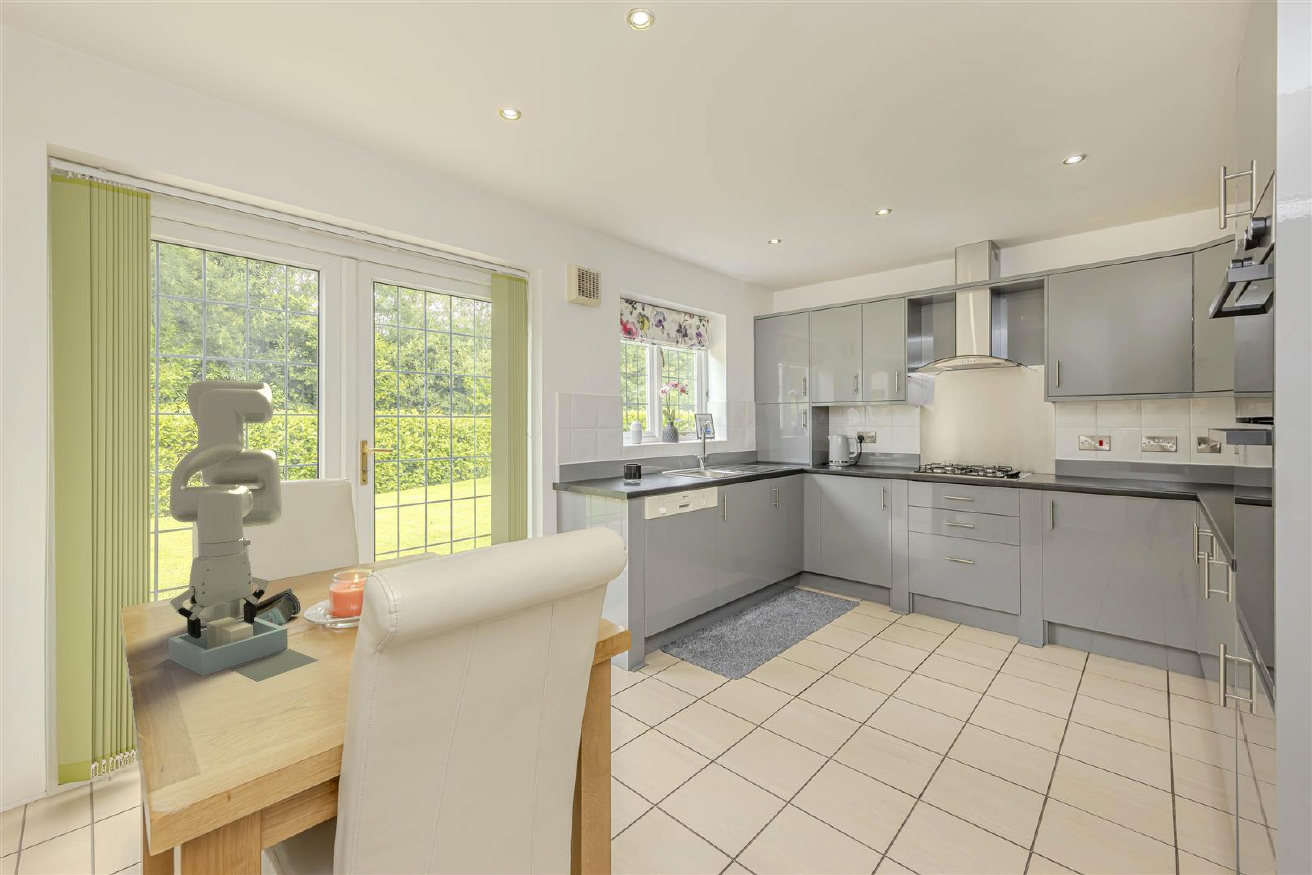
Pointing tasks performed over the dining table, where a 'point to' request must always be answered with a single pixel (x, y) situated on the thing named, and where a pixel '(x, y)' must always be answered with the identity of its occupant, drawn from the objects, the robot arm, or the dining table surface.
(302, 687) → the dining table surface
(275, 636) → the blue bin
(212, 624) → the stone
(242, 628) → the stone
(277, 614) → the dark piece
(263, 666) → the dark mat
